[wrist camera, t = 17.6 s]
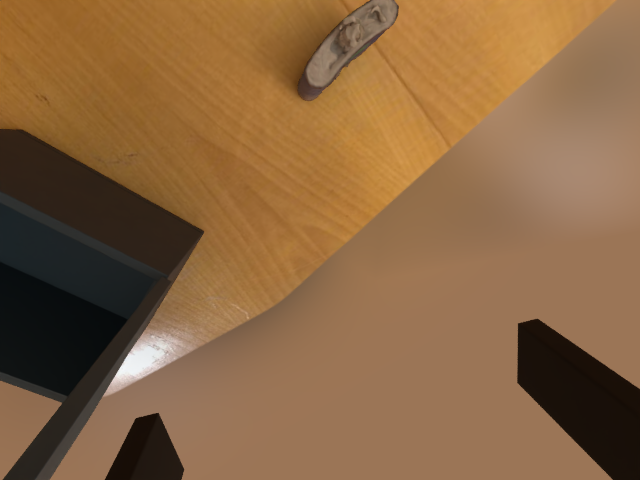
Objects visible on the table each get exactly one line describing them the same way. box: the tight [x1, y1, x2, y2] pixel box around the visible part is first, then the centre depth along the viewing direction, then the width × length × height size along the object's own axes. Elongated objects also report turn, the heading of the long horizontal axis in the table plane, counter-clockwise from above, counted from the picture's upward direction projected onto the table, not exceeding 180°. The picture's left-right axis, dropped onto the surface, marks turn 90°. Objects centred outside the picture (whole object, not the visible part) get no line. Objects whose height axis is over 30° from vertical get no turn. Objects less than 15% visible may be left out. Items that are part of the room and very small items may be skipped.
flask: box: [298, 0, 399, 101], centre depth 28 cm, size 9×3×11 cm, turn 131°
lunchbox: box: [0, 129, 204, 403], centre depth 30 cm, size 20×15×13 cm
